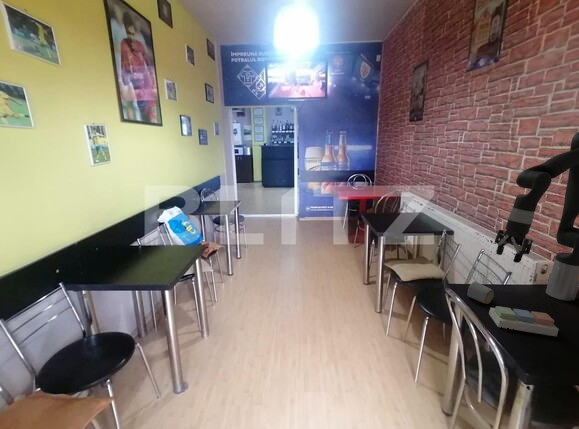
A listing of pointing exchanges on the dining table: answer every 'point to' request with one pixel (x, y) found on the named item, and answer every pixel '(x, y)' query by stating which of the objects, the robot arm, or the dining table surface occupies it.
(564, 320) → the dining table surface
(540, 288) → the dining table surface
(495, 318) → the console
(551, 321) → the terracotta button
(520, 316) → the slate button
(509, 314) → the green button
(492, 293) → the grey cylinder
